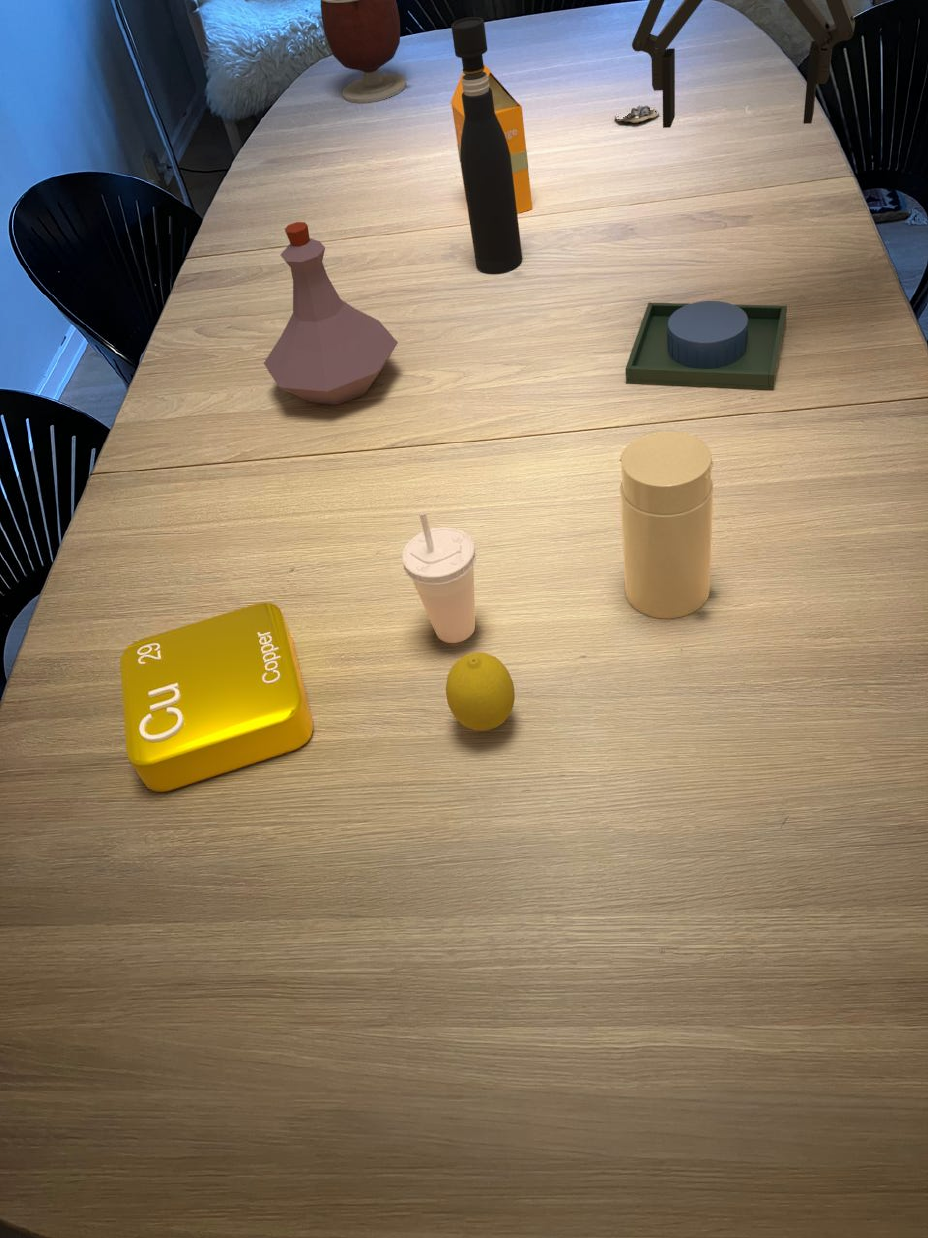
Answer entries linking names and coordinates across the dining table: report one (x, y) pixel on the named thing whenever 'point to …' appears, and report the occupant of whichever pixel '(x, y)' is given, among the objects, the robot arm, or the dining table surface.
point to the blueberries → (639, 114)
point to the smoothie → (444, 578)
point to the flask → (324, 333)
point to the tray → (745, 373)
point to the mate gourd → (364, 44)
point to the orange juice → (512, 128)
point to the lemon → (480, 691)
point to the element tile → (213, 697)
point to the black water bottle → (485, 159)
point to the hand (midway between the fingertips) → (737, 120)
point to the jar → (667, 523)
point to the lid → (707, 334)
